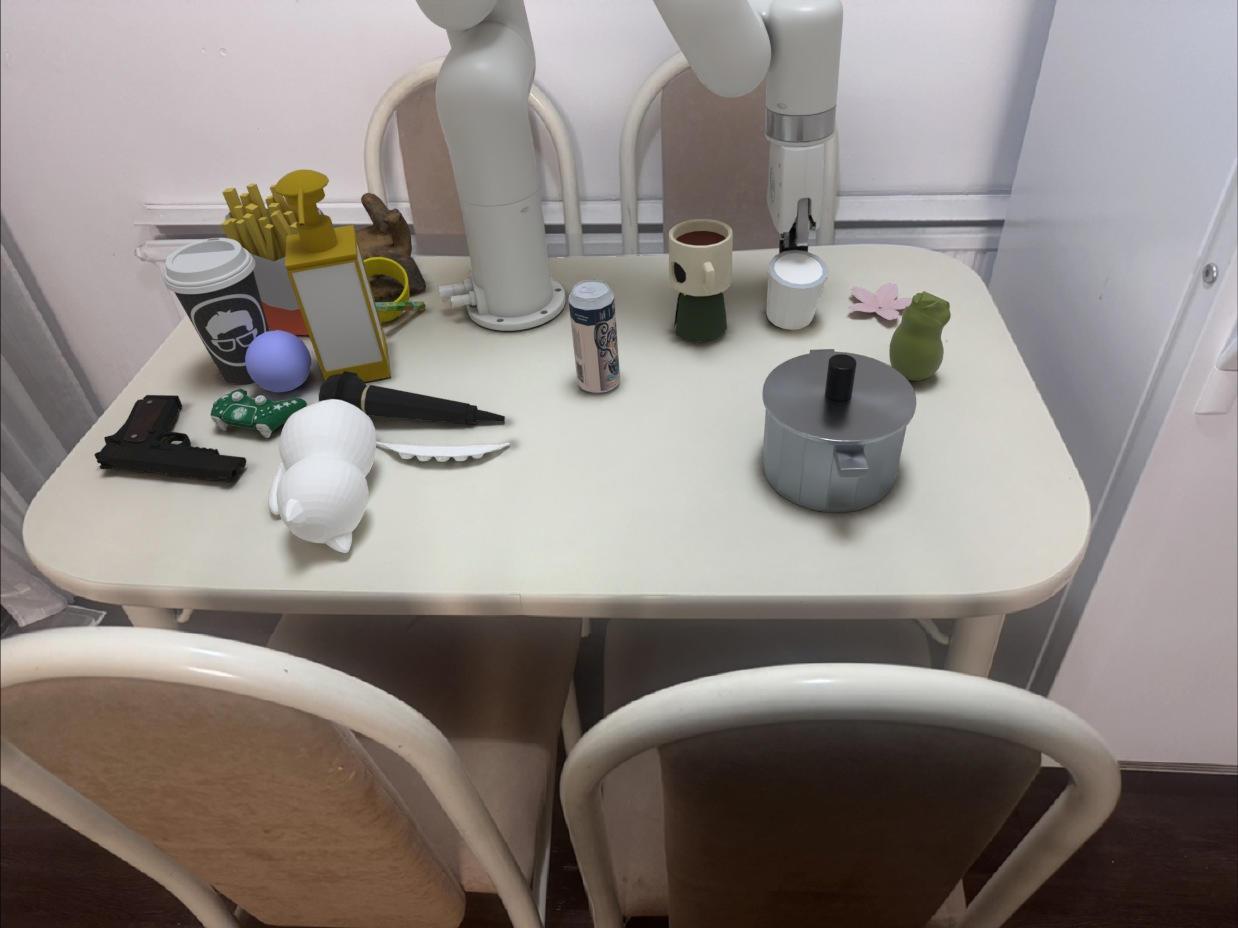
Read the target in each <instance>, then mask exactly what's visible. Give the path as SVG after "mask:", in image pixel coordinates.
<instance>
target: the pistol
mask: <svg viewBox="0 0 1238 928" xmlns="http://www.w3.org/2000/svg"><path fill="white" fill-rule="evenodd" d="M182 408H183V404H182V401H181V399H180V396H179V395H175V394H174V395H173V394H171V395H169V394H146V395H145V396H144V397H143V398H142V399H137V400H135V402H134V404H133V407H132V409H131V410H130V412H129V415H128V417H127V419H126V420H125V422H124V424H122V426H121V427H120V428H119V429H118V430H117V431H116V432H115V433H114V434H111V435H107V436H104V437H103V438H104V443H105V444H104V446H103V447H102V448H101V449H100V451H98V452H95V453H94V455H93V456H94V457H95V460H96V463H97V464H100V465H99V468H100V470H112V469H114V470H122V471H130V472H131V471H132V472H138V473H146V474H147V473H148V472H149V473H157V474H158V473H159V474H165V475H167V476H173V477H181V478H190V479H196V480H197V479H199V480H206V481H216V482H217V481H218V482H222V483H224V482H225V483H231V484H233V483H234V482H235V481H236V479H237V478H238V477H239V476H240V475H241V474H242V470H243V468H245V467H246V466H247V458H246V457H243V456H234V455H228V454H227V455H226V454H220V452H219V450H218V448H215V449H214V447H213V448H212V447H209V448H207V447H205V446H204V447H203V446H202V447H200V446H193V445H192V442H191V440H190V436H189V435H188V434H187V433H185V432H177V431H170V430H171V428H172V427H173V425H174V423H175V421H176V419H177V417H178V414H179V413H180V410H181V409H182ZM173 442H180V443H173Z"/></svg>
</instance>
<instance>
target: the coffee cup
mask: <svg viewBox="0 0 1238 928" xmlns="http://www.w3.org/2000/svg"><path fill="white" fill-rule="evenodd" d="M164 265H165V269H164V271H163V280H164V286H165V288H166V289H168V290H169V291H171V292H173V293H174V294H175V296H176V298H177V300H178V301H179V303H180V305H181V306H182V308H183V310H184V312H185V313H186V316H187V317H188V319H189V320H190V322H191V324H192V326H193V327H194V329H195V331H196V333H197V335H198V336H199V338H200V341H201V342H202V343H203V345H204V347H205V349H206V351H207V352H208V355H209V357H210V358H211V360H212V362H213V363H214V365H215V367H216V368H217V371H218V372H219V374H220V376H221V377H222V379H223V380H224V381H225V382H226V383H228V384H232V385H249V384H252V383H255V382H254V381H253V380H252V378H251V377H250V375H249V373H248V371H247V368H246V364H245V356H246V352H247V349H248V347H249V345H250V344H251V342H252V341H253V340H254V339H255V338H256V337H258V336H259V335H261V334H263V333H265V332H268V331H270V328H269V327H268V323H267V320H266V316H265V312H264V309H263V305H262V301H261V298H260V294H259V290H258V287H257V283H256V279H255V275H254V271H253V269H254V267H255V260H254V258H253V257H252V255H251V254H250V253H249V252H248V251H247V250H246V249H244V248H243V247H242V246H241V245H240V243H239V242H237V241H235V240H233V239H228V238H226V237H212V238H205V239H201V240H197V241H193V242H190V243H188V244H185V245H182V246H180V247H179V248H177V249H175V250H174V251H172V252H171V253H170V254H169V255H168V256H167V258H166V259H165V262H164Z"/></svg>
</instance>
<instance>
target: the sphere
mask: <svg viewBox="0 0 1238 928" xmlns="http://www.w3.org/2000/svg"><path fill="white" fill-rule="evenodd" d="M245 364H246V368H247V371H248V373H249V375H250V377H251V378H252V380H253V381H254V382H253V383H255V384H256V385H257V386H259V387H260V388H261V389H264V390H266V391H270V392H272V393H286V392H291V391H293V390H295V389H297V388H298V387H301V385H303V384H304V383H305V382H306V381H307V378H308V376H309V375H310V373H311V370H312V357H311V353H310V350H309V348H308V346H307V344H306V343H305V342H304V341H303V340H302V339H300V337H298V335H294V334H291V333H288V332H285V331H280V330H277V331H273V330H269V331H268V332H265V333H263V334H261V335H259V336H258V337H256V338H255V339H254V340H253V341H252V342H251V344H250V345H249V347H248V349H247V352H246V356H245Z"/></svg>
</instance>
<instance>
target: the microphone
mask: <svg viewBox="0 0 1238 928" xmlns="http://www.w3.org/2000/svg"><path fill="white" fill-rule="evenodd" d="M330 399H336V400H342V401H345V402H348V403H350V404H352V405H354V406H356V407H357V408H359V409H360V410H361V411H363V412H364V413H365V414H366V415H367V416H368V417H376V418H377V417H378V418H389V419H401V420H402V419H403V420H412V421H413V420H414V421H427V422H438V423H447V424H448V423H449V424H450V423H451V424H461V425H462V424H463V425H468V424H471V425H475V424H476V422H505V421H506V415H501V414H498V413H495V412H491V411H487V410H482V409H478V406H477V405H475V404H470V403H468V402H462V401H457V400H453V399H452V400H451V399H447V398H443V397H437V396H431V395H426V394H421V393H416V392H411V391H405V390H400V389H395V388H390V387H384V386H380V385H379V386H378V385H375V384H369V385H368V384H367V383H366V382H364V380H362V379H361V378H359V377H358V375H357V373H353V372H347V371H344V372H343V374H335V375H331V376H329V377H328V378H327V379H326V380H324V381H323V382H322V383H321V385H320V388H319V392H318V402H320V401H324V400H330Z"/></svg>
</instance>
